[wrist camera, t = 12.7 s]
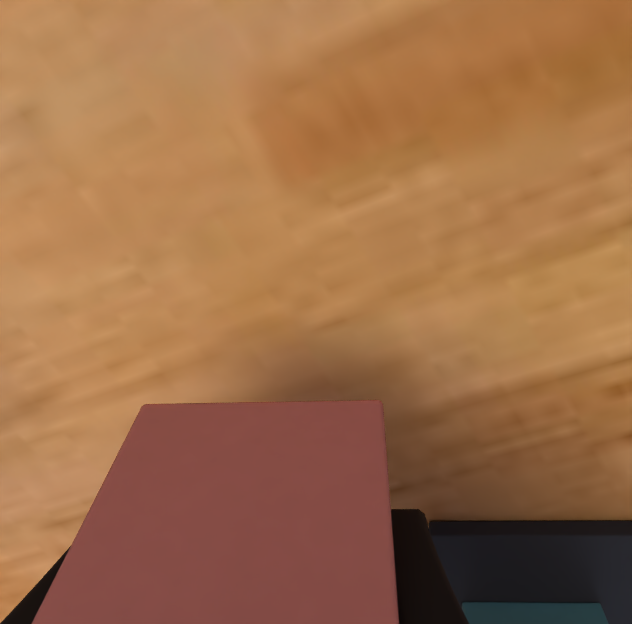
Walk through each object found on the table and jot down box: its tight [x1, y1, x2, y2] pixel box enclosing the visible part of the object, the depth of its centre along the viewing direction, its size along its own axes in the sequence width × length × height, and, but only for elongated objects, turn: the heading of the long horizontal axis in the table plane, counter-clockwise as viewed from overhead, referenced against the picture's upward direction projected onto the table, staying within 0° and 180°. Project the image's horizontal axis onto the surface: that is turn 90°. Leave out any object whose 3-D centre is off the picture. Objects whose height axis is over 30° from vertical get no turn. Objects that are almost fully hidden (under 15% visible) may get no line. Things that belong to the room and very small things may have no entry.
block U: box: [32, 400, 399, 624], centre depth 10 cm, size 5×5×5 cm
